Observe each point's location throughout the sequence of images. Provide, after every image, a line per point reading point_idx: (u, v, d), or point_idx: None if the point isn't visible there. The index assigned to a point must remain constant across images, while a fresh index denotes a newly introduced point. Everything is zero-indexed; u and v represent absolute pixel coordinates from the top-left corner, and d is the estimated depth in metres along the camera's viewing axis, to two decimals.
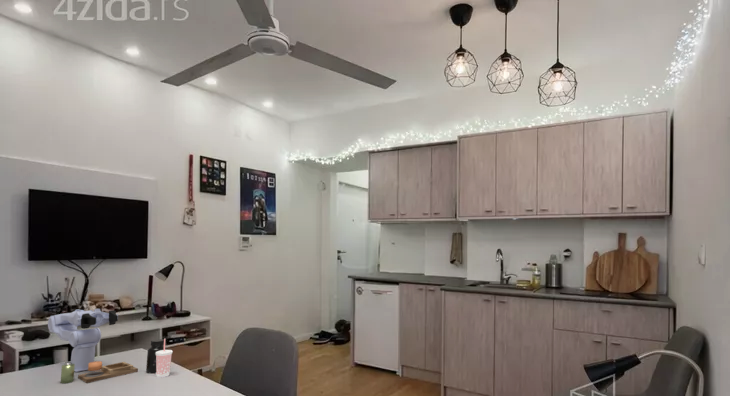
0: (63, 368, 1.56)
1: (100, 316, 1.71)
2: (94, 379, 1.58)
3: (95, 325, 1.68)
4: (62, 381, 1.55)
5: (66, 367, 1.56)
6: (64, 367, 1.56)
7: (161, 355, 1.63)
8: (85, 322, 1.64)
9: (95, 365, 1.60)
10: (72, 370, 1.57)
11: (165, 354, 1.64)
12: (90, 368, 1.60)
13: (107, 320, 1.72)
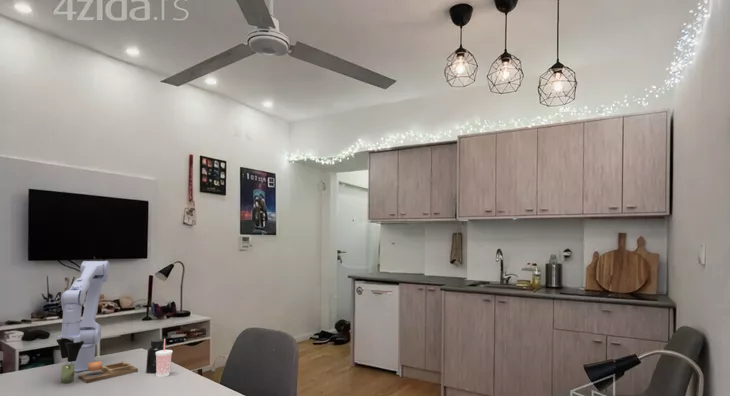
0: (63, 368, 1.56)
1: None
2: (94, 379, 1.58)
3: None
4: (62, 381, 1.55)
5: (66, 367, 1.56)
6: (64, 367, 1.56)
7: (161, 355, 1.63)
8: None
9: (95, 365, 1.60)
10: (72, 370, 1.57)
11: (165, 354, 1.64)
12: (90, 368, 1.60)
13: (77, 337, 1.58)
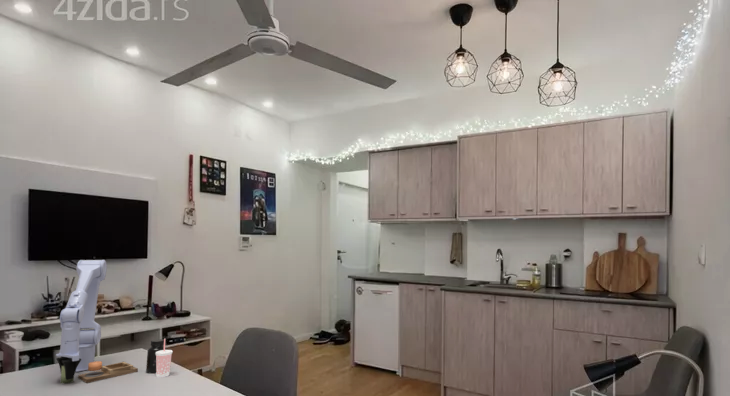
0: (63, 368, 1.56)
1: None
2: (94, 379, 1.58)
3: None
4: (62, 381, 1.55)
5: None
6: None
7: (161, 355, 1.63)
8: None
9: (95, 365, 1.60)
10: None
11: (165, 354, 1.64)
12: (90, 368, 1.60)
13: None
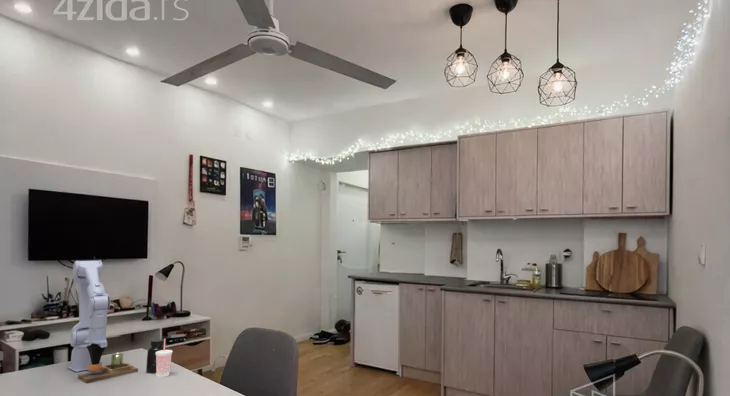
0: (113, 357, 1.67)
1: None
2: (94, 379, 1.58)
3: None
4: None
5: (116, 356, 1.67)
6: (114, 356, 1.67)
7: (161, 355, 1.63)
8: None
9: (95, 366, 1.60)
10: (121, 359, 1.68)
11: (165, 354, 1.64)
12: (90, 369, 1.60)
13: (103, 342, 1.62)
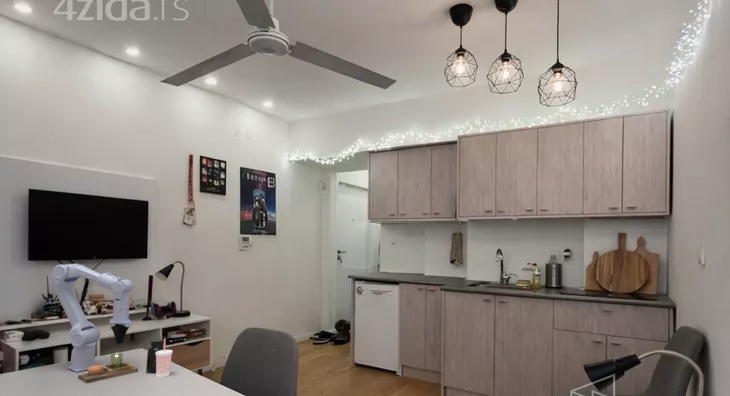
0: (113, 357, 1.67)
1: None
2: (94, 379, 1.58)
3: None
4: None
5: (115, 356, 1.67)
6: (113, 356, 1.67)
7: (161, 355, 1.63)
8: None
9: (95, 369, 1.60)
10: (121, 359, 1.68)
11: (165, 354, 1.64)
12: (90, 372, 1.60)
13: None
